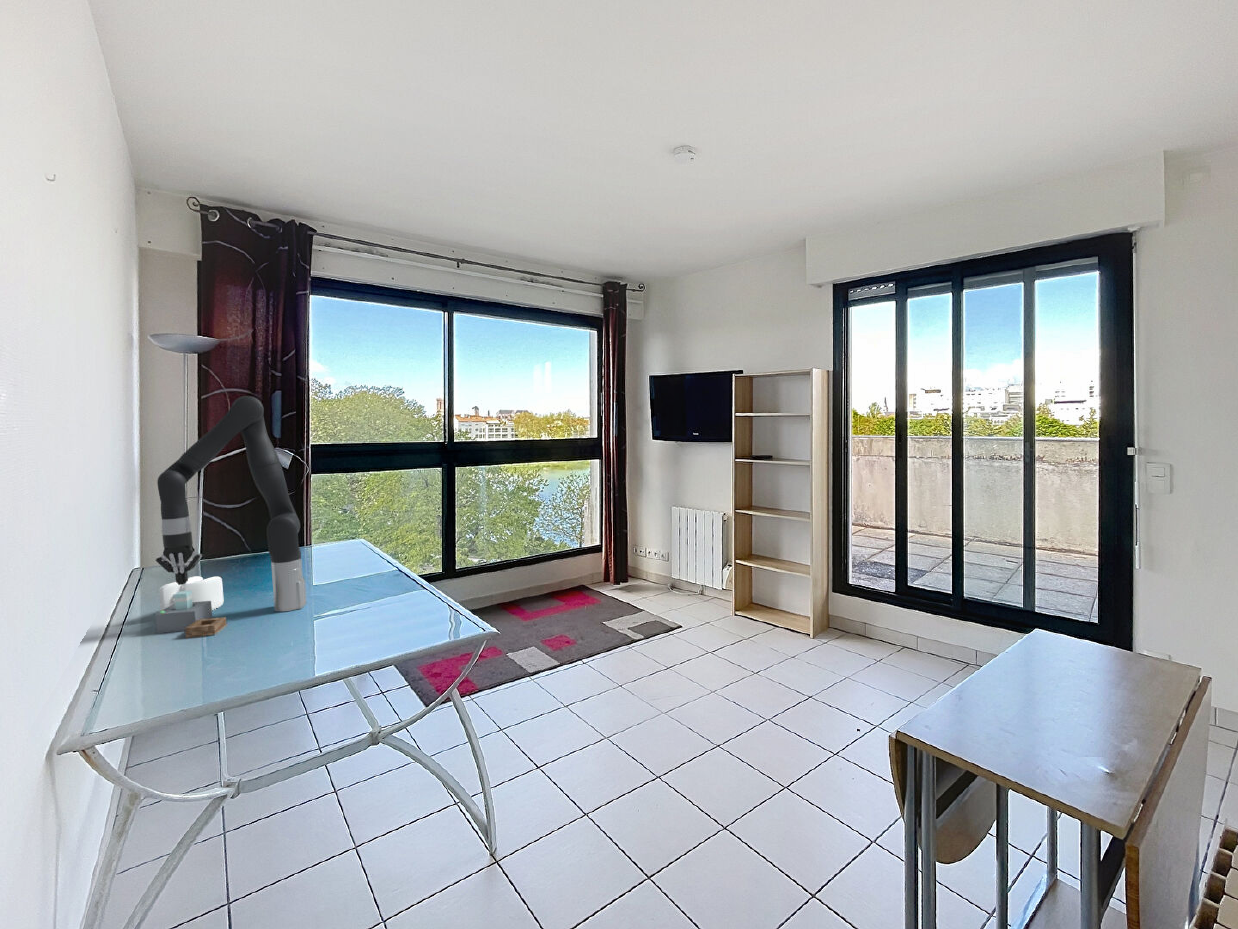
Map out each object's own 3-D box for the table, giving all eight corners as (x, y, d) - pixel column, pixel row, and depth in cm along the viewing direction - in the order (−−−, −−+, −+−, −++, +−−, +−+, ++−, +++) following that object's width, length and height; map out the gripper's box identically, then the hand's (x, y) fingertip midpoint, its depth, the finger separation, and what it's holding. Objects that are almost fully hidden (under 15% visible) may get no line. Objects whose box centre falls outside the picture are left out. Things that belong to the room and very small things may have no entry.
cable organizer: (185, 621, 193) (182, 587, 192) (160, 619, 196) (156, 586, 195) (224, 606, 208) (222, 575, 207) (200, 605, 210) (198, 574, 209)
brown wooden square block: (226, 626, 187) (225, 617, 187) (215, 635, 179) (214, 625, 179) (198, 628, 185) (198, 619, 185) (185, 637, 177) (185, 628, 177)
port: (212, 618, 195) (210, 599, 195) (196, 629, 185) (194, 609, 184) (175, 621, 193) (173, 602, 193) (156, 633, 182) (155, 613, 182)
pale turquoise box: (194, 620, 191) (191, 590, 190) (189, 623, 187) (186, 593, 187) (181, 621, 190) (179, 591, 189) (176, 624, 187) (173, 594, 186)
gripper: (205, 527, 191) (210, 579, 193) (159, 531, 188) (165, 583, 190) (194, 532, 184) (199, 585, 185) (146, 535, 181) (152, 589, 183)
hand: (182, 584), depth 188 cm, fingers closed
